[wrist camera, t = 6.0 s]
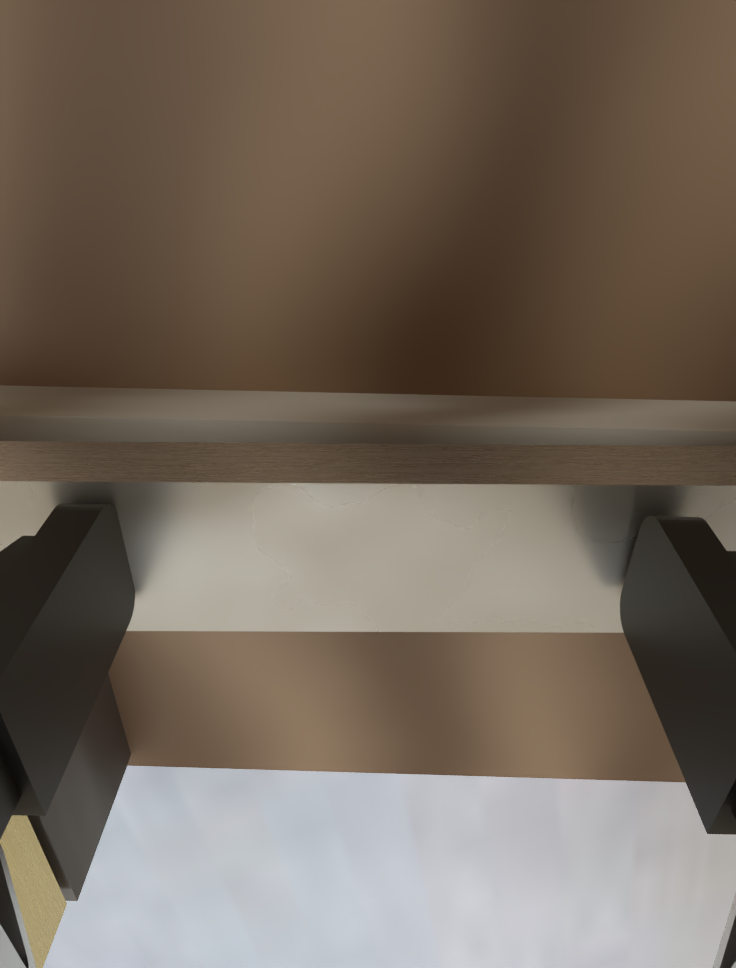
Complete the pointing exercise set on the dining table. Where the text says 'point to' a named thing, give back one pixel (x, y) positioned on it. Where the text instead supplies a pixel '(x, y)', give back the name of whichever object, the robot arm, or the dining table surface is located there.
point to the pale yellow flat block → (33, 886)
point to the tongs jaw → (373, 528)
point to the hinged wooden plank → (366, 324)
